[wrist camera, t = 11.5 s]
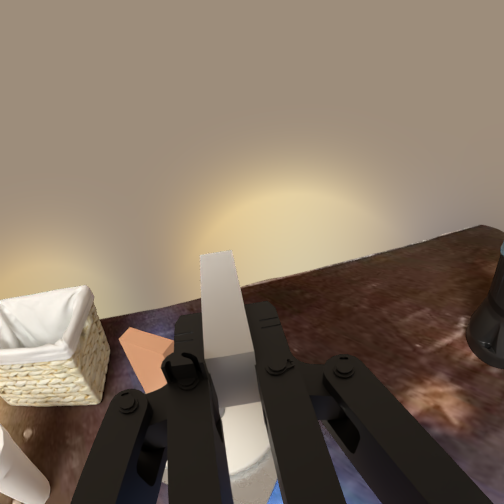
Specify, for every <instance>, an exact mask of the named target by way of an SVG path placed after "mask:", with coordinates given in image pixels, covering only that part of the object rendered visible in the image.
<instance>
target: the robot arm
mask: <svg viewBox="0 0 504 504" xmlns="http://www.w3.org/2000/svg"><path fill="white" fill-rule="evenodd" d="M500 251H501V255H500V258H499V262H498V265H497V268H496V271H495V275H494V278H493V281H492V284H491V287H490V290H489V293H488V296H487V297H486V298H485V300H484V301H483V302H482V303H481V305H480V306H479V307H478V309H477V310H476V311H475V312H474V313H473V315H472V316H471V318H470V321H469V324H468V326H467V329H466V338H467V342H468V344H469V346H470V348H471V349H472V351H473V352H474V353H475V355H476V356H477V357H479V358H480V359H481V360H482V361H484V362H485V363H487V364H489V365H491V366H493V367H496V368H500V369H504V242H503V244H502V246H501V250H500ZM200 275H201V302H202V313H195V314H188V315H182V316H180V317H179V319H178V320H177V322H176V324H175V333H174V334H175V336H174V352H173V353H171V354H170V355H168V356H167V357H166V358H165V359H164V360H163V361H162V364H161V370H162V372H163V374H164V377H165V379H166V381H167V384H166V385H164V386H163V387H162V388H160V389H158V390H155V391H153V392H150V393H147V394H144V393H142V392H141V391H139V390H136V389H127V390H124V391H121V392H119V393H118V394H117V395H115V396H114V398H113V399H112V401H111V403H110V405H109V407H108V409H107V412H106V414H105V417H104V419H103V421H102V424H101V426H100V428H99V431H98V433H97V436H96V438H95V441H94V443H93V446H92V448H91V451H90V453H89V456H88V458H87V461H86V463H85V466H84V468H83V471H82V474H81V476H80V479H79V482H78V484H77V487H76V490H75V493H74V495H73V498H72V501H71V504H156V502H157V498H158V494H159V490H160V486H161V482H162V478H163V474H164V470H165V467H166V463H167V466H168V497H169V504H234V502H233V495H232V489H231V482H230V476H229V469H228V462H227V455H226V448H225V440H224V432H223V425H222V419H221V417H220V413H219V407H220V408H224V407H231V406H237V405H243V404H249V403H255V402H261V404H262V410H263V417H264V424H265V425H266V430H267V434H268V439H269V443H270V448H271V452H272V457H273V461H274V465H275V470H276V474H277V478H278V483H279V487H280V491H281V495H282V500H283V504H346V501H345V498H344V495H343V492H342V489H341V486H340V483H339V480H338V477H337V475H336V472H335V469H334V466H333V463H332V460H331V457H330V454H329V451H328V448H327V445H326V443H325V440H324V437H323V434H322V431H321V428H320V425H319V422H318V420H321V421H322V423H323V424H324V426H325V427H326V428H327V430H328V431H329V433H330V434H331V435H332V437H333V438H334V439H335V441H336V442H337V444H338V445H339V446H340V448H341V449H342V450H343V452H344V453H345V455H346V456H347V457H348V459H349V460H350V461H351V463H352V464H353V465H354V467H355V468H356V470H357V471H358V472H359V474H360V475H361V476H362V478H363V479H364V480H365V482H366V483H367V484H368V486H369V487H370V488H371V489H372V491H373V492H374V493H375V495H376V496H377V497H378V499H379V500H380V501H381V503H382V504H493V503H492V502H491V500H490V499H489V498H488V497H487V496H486V495H485V494H484V493H483V492H482V491H481V490H480V488H479V487H478V486H477V485H476V484H475V483H474V482H473V481H472V480H471V479H470V478H469V477H468V475H467V474H466V473H465V472H464V471H463V470H462V469H461V468H460V467H459V466H458V465H457V464H456V462H455V461H454V460H453V459H452V458H451V457H450V456H449V455H448V454H447V453H446V452H445V451H444V449H443V448H442V447H441V446H440V445H439V444H438V443H437V442H436V441H435V440H434V439H433V438H432V437H431V435H430V434H429V433H428V432H427V431H426V430H425V429H424V428H423V427H422V426H421V425H420V424H419V423H418V421H417V420H416V419H415V418H414V417H413V416H412V415H411V414H410V413H409V412H408V411H407V410H406V409H405V408H404V406H403V405H402V404H401V403H400V402H399V401H398V400H397V399H396V398H395V397H394V396H393V395H392V394H391V393H390V391H389V390H388V389H387V388H386V387H385V386H384V385H383V384H382V383H381V382H380V381H379V380H378V379H377V378H376V376H375V375H374V374H373V373H372V372H371V371H370V370H369V369H368V368H367V367H366V366H365V365H364V364H363V363H362V361H360V360H359V359H358V358H356V357H355V356H351V355H348V354H340V355H336V356H333V357H331V358H330V359H328V360H327V361H326V363H325V365H321V364H307V363H304V362H301V361H299V360H297V359H296V358H295V357H294V356H293V355H292V353H291V352H290V349H289V346H288V343H287V340H286V337H285V335H284V332H283V329H282V326H281V323H280V320H279V318H278V314H277V311H276V309H275V307H274V306H273V305H272V304H270V303H269V302H268V301H263V302H258V303H252V304H246V305H244V303H243V299H242V294H241V290H240V285H239V281H238V276H237V271H236V267H235V262H234V258H233V253H232V250H228V251H222V252H216V253H209V254H203V255H200Z"/></svg>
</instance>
